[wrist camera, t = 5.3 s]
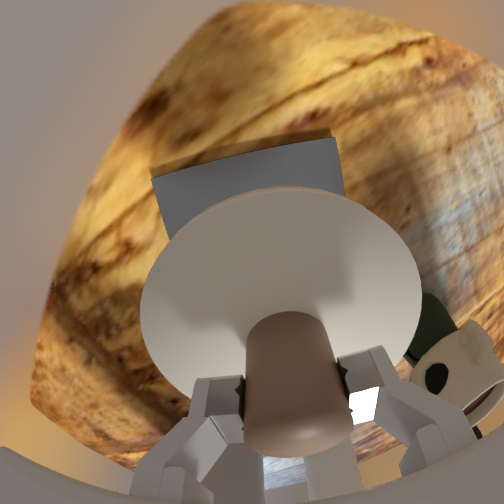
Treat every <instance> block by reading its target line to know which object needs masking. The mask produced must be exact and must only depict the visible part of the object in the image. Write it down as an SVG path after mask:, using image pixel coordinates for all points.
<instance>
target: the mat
mask: <svg viewBox="0 0 504 504" xmlns="http://www.w3.org/2000/svg"><path fill="white" fill-rule="evenodd" d="M151 181H152V185H153V188H154V192H155V195H156V198H157V202H158V205H159V208H160V212H161V215H162V218H163V221H164V224H165V227H166V230H167V234H168V237H169V240H170V241H171V239H172V238H173V237H174V236H175V235H176V233H177V232H178V231H179V230H180V229H181V228H182V227H183V226H184V225H186V224H187V223H188V222H189V221H190V220H191V219H193V218H194V217H195V216H196V215H198V214H199V213H201V212H203V211H204V210H206V209H207V208H209V207H210V206H212V205H214V204H216V203H218V202H221V201H223V200H225V199H227V198H229V197H232V196H234V195H238V194H241V193H245V192H248V191H251V190H255V189H262V188H269V187H276V186H302V187H309V188H316V189H322V190H326V191H329V192H332V193H336V194H339V195H342V196H344V197H345V193H344V186H343V179H342V173H341V167H340V161H339V155H338V149H337V144H336V138H335V137H330V138H323V139H317V140H310V141H304V142H298V143H293V144H287V145H282V146H277V147H272V148H267V149H262V150H257V151H253V152H248V153H244V154H239V155H235V156H231V157H227V158H223V159H219V160H215V161H211V162H207V163H203V164H199V165H196V166H192V167H189V168H185V169H182V170H178V171H175V172H171V173H168V174H165V175H162V176H158V177H155V178H152V179H151Z"/></svg>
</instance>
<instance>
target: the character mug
mask: <svg viewBox="0 0 504 504" xmlns="http://www.w3.org/2000/svg"><path fill="white" fill-rule="evenodd" d="M493 344H494V342H493V340H492V338H491V337H490V336H489V335H488V334H487V333H486V331H485V330H484V329H483V328H482V327H481V326H480V325H479V324H478V323H477V322H476V321H474V320H471V319H469V320H468V321H467V323H466V324H465V326H464V328H463V329H462V330H459V331H458V329H457V327H456V325H455V323H454V322H453V320H452V319H451V317H450V315H449V314H448V312H447V311H446V309H445V308H444V306H443V305H442V304H441V302H440V301H439V300H438V298H436V297H435V296H433V295H432V294H422V305H421V313H420V318H419V322H418V326H417V329H416V331H415V334H414V337H413V339H412V341H411V343H410V345H409V347H408V349H407V351H406V352H405V354H404V355H403V357H404V358H405V359H406V360H407V361H408V362H409V364H410V365H411V366H412V367H413V368H414V369H413V371H412V373H411V382H412V383H414V384H415V385H417V386H419V387H421V388H423V389H425V390H427V391H429V392H431V393H432V394H434V395H436V396H438V397H440V398H442V399H444V400H446V401H448V402H450V403H452V404H454V405H456V406H458V407H460V408H461V409H462V410H463V412H464V414H465V416H466V418H467V420H468V422H469V424H470V425H471V427H474V426H475V425H476V424H477V423H479V422H480V421H481V420H482V419H484V418H485V417H486V416H487V415H488V414H489V413H490V412H491V411H492V410H493V409H494V408H495V407H496V406H497V405H498V404H499V402H500V401H501V400H502V398H503V397H504V365H503V364H502V363H501V361H500V360H499V359H498V358H497V357H496V355H495V354H494V353H493V352H492V349H493Z"/></svg>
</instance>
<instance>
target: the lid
mask: <svg viewBox="0 0 504 504" xmlns="http://www.w3.org/2000/svg"><path fill="white" fill-rule="evenodd" d="M421 305H422V289H421V280H420V276H419V272H418V268H417V265H416V263H415V260H414V258H413V256H412V254H411V252H410V250H409V248H408V247H407V246H406V244H405V243H404V241H403V240H402V238H401V237H400V236H399V235H398V234H397V233H396V232H395V231H394V230H393V229H392V228H391V227H390V226H389V225H388V224H387V223H386V222H385V221H383V220H382V219H381V218H379V217H378V216H376V215H375V214H374V213H372V212H371V211H369V210H368V209H366V208H365V207H363V206H362V205H361V204H359V203H357V202H355V201H353V200H351V199H348V198H346V197H344V196H342V195H339V194H336V193H332V192H329V191H326V190H322V189H316V188H309V187H302V186H276V187H269V188H262V189H255V190H251V191H248V192H245V193H241V194H238V195H234V196H232V197H229V198H227V199H225V200H223V201H221V202H218V203H216V204H214V205H212V206H210V207H209V208H207V209H206V210H204V211H203V212H201V213H199V214H198V215H196V216H195V217H194V218H193V219H191V220H190V221H189V222H188V223H187V224H186V225H184V226H183V227H182V228H181V229H180V230H179V231H178V232H177V233H176V235H175V236H174V237H173V238H172V239H171V241H170V242H169V243H168V244H167V245H166V247H165V248H164V249H163V251H162V252H161V254H160V255H159V256H158V258H157V260H156V261H155V263H154V265H153V267H152V268H151V270H150V272H149V274H148V277H147V279H146V282H145V285H144V288H143V292H142V297H141V303H140V324H141V330H142V336H143V339H144V342H145V345H146V348H147V350H148V352H149V354H150V356H151V358H152V360H153V362H154V363H155V365H156V366H157V368H158V369H159V371H160V372H161V373H162V374H163V376H164V377H165V378H166V379H167V380H168V381H169V382H170V383H171V384H172V385H173V386H174V387H175V388H177V389H178V390H179V391H180V392H181V393H183V394H184V395H186V396H187V397H189V398H190V399H191V398H192V393H193V389H194V384H195V381H196V380H197V378H208V377H219V376H231V375H243V376H244V379H245V399H244V431H243V439H244V442H245V444H246V445H247V447H249V448H250V449H251V450H253V451H255V452H257V453H259V454H262V455H266V456H271V457H279V458H292V457H302V456H308V455H312V454H316V453H319V452H322V451H325V450H327V449H330V448H332V447H334V446H336V445H337V444H339V443H340V442H342V441H343V440H344V439H346V438H347V437H348V436H349V434H350V433H351V432H352V430H353V427H354V420H353V417H352V413H351V410H350V407H349V403H348V400H347V396H346V393H345V390H344V386H343V383H342V380H341V376H340V373H339V370H338V367H337V357H339V356H343V355H347V354H350V353H354V352H358V351H362V350H365V349H366V350H367V349H369V348H373V347H376V346H379V345H382V346H383V347H384V348H385V350H386V352H387V354H388V356H389V358H390V360H391V362H392V364H393V366H394V367H395V366H396V365H397V364H398V362H399V361H400V360H401V358H402V357H403V355H404V354H405V352H406V351H407V349H408V347H409V345H410V343H411V341H412V339H413V337H414V334H415V331H416V329H417V326H418V322H419V318H420V313H421Z"/></svg>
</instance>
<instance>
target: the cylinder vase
mask: <svg viewBox="0 0 504 504" xmlns="http://www.w3.org/2000/svg"><path fill="white" fill-rule="evenodd" d="M200 483H201V484H202V485H204V486H205V487H206V488H207V489H209V490H210V491H211V492H212V493H213V494H214V499H213V504H265V496H264V495H265V494H264V471H263V455H262V454H259V453H257V452H255V451H253V450H251V449H250V448H249V447H247V445H246V444H245V443H233V444H227V447H226V448H225V450H224V451H223V453H222V454H221V455H220V457H219V458H218V460H217V461H216V462H215V464H214V465H213V466H212V468H211V469H210V471H209V472H208V473H207V475H206V476H205V477H204V479H203V480H202V481H201V482H200Z"/></svg>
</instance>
